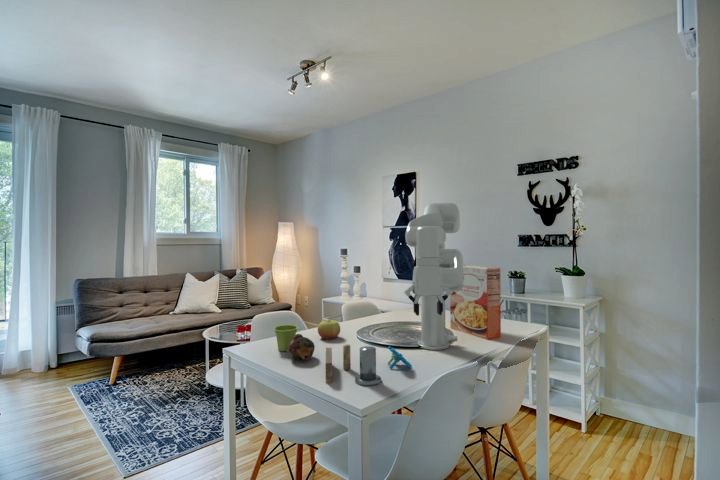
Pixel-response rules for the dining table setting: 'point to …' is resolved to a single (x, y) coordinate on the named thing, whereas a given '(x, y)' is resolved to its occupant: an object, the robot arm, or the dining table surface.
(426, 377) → the dining table surface
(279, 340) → the plant pot
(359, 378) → the post
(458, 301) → the pasta box
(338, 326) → the apple
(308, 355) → the decorative turtle
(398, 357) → the gear
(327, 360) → the brown wooden plank
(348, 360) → the dowel pin
